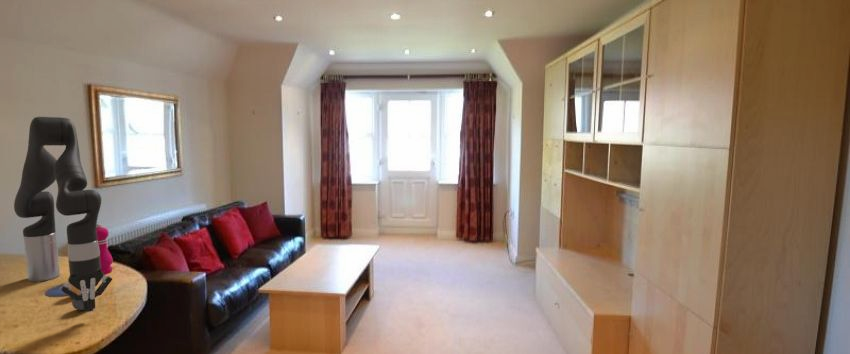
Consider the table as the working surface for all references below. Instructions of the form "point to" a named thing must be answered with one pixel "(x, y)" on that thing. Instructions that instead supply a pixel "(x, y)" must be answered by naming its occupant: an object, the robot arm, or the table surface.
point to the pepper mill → (104, 249)
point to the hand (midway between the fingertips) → (89, 310)
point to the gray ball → (78, 303)
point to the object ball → (74, 290)
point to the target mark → (56, 291)
